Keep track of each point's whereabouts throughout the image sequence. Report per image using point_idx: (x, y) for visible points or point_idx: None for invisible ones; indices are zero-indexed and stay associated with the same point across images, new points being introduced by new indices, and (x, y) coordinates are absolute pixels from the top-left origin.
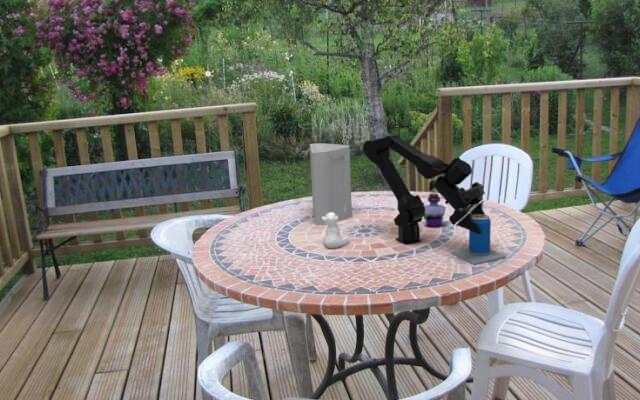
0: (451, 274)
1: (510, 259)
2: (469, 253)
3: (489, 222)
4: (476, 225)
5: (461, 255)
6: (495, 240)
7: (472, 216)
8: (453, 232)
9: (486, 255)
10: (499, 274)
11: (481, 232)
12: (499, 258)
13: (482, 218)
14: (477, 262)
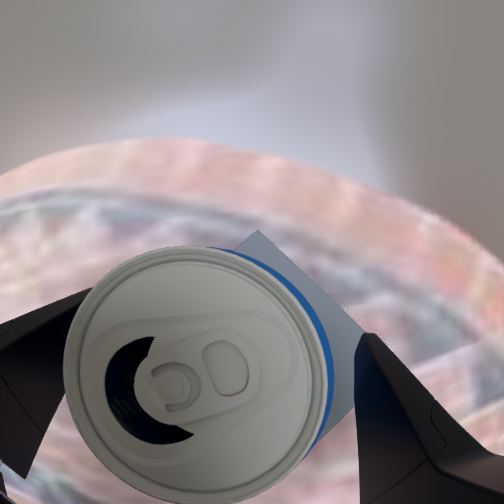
0: (487, 410)
1: (271, 213)
2: None
3: (243, 255)
4: (413, 385)
5: None
6: (45, 296)
7: (148, 480)
8: None
9: None
10: (446, 242)
11: (373, 334)
12: (285, 257)
13: (240, 342)
14: None
